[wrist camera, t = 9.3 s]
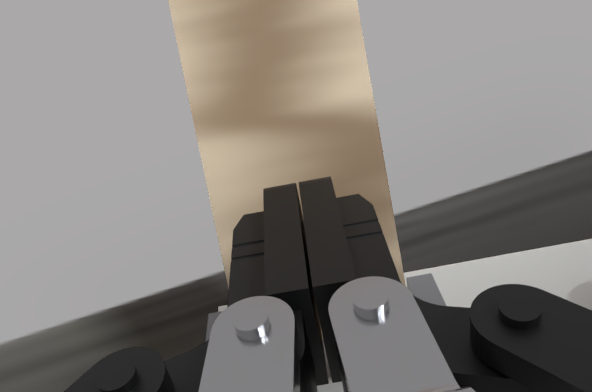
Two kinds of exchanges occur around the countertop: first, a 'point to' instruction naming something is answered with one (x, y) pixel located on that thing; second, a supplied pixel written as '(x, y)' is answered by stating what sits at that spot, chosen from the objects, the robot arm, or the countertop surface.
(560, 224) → the countertop surface
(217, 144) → the brown long rectangular block
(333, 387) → the panel
